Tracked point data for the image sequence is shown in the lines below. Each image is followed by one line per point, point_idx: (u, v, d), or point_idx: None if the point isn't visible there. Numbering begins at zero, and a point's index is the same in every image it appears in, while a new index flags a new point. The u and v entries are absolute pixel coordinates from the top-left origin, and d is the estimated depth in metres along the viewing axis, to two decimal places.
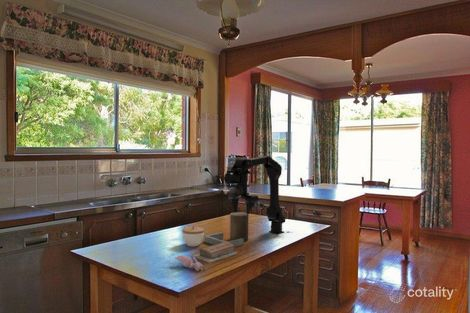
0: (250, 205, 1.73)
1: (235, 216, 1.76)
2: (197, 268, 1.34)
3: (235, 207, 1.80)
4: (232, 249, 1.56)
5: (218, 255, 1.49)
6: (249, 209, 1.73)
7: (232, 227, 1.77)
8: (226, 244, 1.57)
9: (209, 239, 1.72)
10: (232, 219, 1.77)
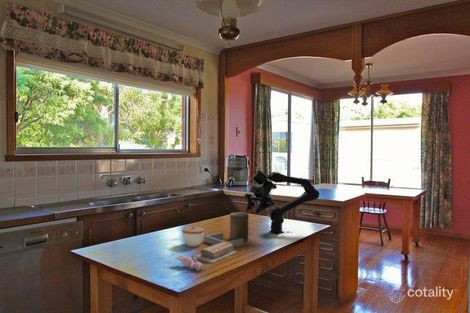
0: (262, 207, 1.85)
1: (235, 216, 1.76)
2: (198, 268, 1.34)
3: (249, 207, 1.90)
4: (231, 248, 1.57)
5: (220, 255, 1.49)
6: (259, 209, 1.84)
7: (232, 227, 1.77)
8: (225, 244, 1.57)
9: (209, 239, 1.72)
10: (232, 219, 1.77)
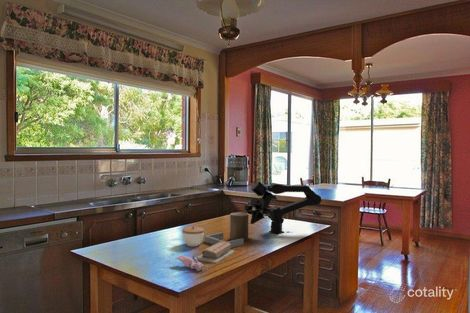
0: (257, 217, 1.88)
1: (235, 216, 1.76)
2: (198, 268, 1.33)
3: None
4: (230, 248, 1.58)
5: (221, 254, 1.49)
6: (255, 220, 1.87)
7: (232, 227, 1.77)
8: (223, 243, 1.58)
9: (209, 239, 1.72)
10: (232, 219, 1.77)
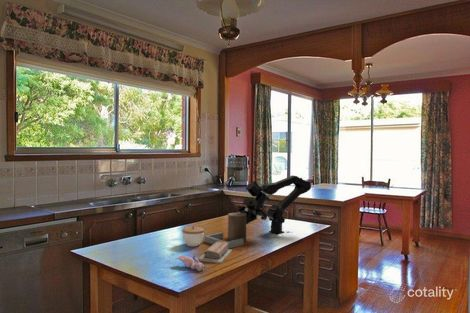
0: (250, 218, 1.84)
1: (233, 216, 1.75)
2: (199, 268, 1.33)
3: None
4: (227, 247, 1.59)
5: (222, 254, 1.50)
6: (247, 221, 1.83)
7: (230, 227, 1.76)
8: (221, 243, 1.58)
9: (209, 239, 1.72)
10: (230, 219, 1.76)
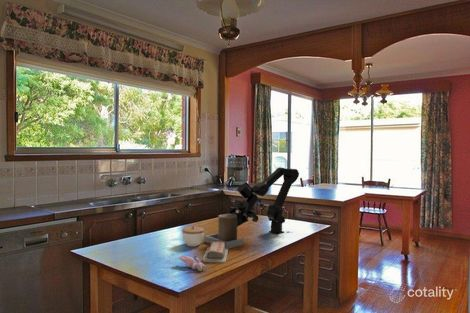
0: (241, 221, 1.79)
1: (224, 218, 1.70)
2: (199, 268, 1.33)
3: None
4: None
5: (224, 254, 1.51)
6: (238, 223, 1.78)
7: (221, 229, 1.71)
8: (219, 243, 1.58)
9: (209, 239, 1.72)
10: (221, 221, 1.71)
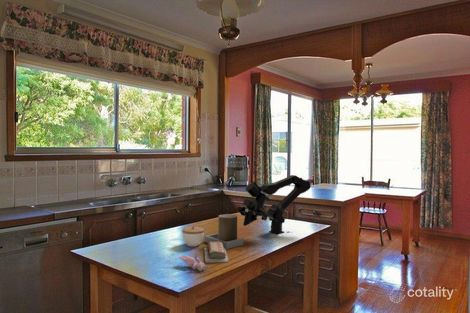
0: (250, 219, 1.84)
1: (224, 218, 1.70)
2: (200, 268, 1.33)
3: None
4: None
5: None
6: (248, 222, 1.83)
7: (222, 229, 1.71)
8: (217, 243, 1.59)
9: (209, 239, 1.72)
10: (221, 221, 1.71)
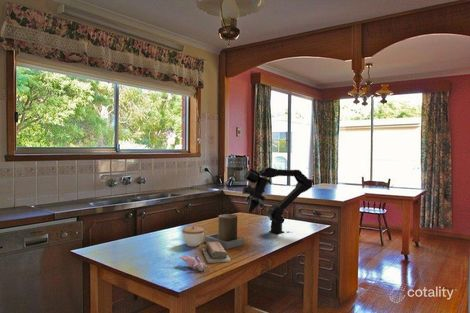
0: (253, 205, 1.87)
1: (224, 218, 1.70)
2: (200, 268, 1.33)
3: None
4: None
5: None
6: (251, 208, 1.87)
7: (222, 229, 1.71)
8: (215, 243, 1.58)
9: (209, 239, 1.72)
10: (221, 221, 1.71)
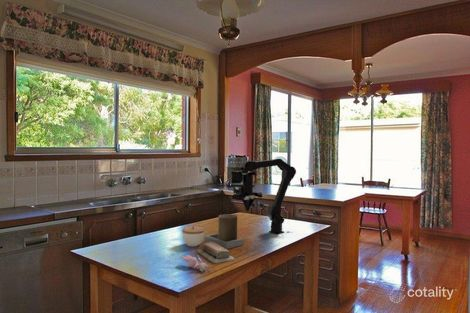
0: (246, 203, 1.90)
1: (224, 218, 1.70)
2: (201, 269, 1.33)
3: None
4: None
5: None
6: (246, 206, 1.90)
7: (222, 229, 1.71)
8: (211, 243, 1.58)
9: (209, 239, 1.72)
10: (221, 221, 1.71)
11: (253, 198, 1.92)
